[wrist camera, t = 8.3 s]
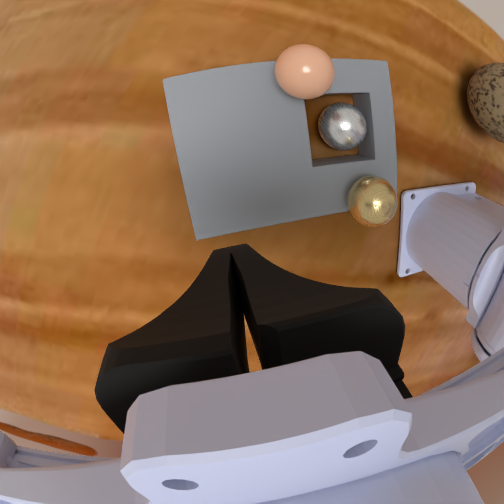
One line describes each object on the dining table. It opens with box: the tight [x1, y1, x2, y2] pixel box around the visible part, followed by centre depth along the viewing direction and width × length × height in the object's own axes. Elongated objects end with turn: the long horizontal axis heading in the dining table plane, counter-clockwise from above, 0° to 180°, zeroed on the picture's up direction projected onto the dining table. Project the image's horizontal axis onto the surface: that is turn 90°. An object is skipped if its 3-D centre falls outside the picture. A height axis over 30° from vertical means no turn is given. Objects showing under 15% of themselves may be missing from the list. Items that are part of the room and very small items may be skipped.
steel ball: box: [318, 103, 367, 150], centre depth 17 cm, size 3×3×3 cm
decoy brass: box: [347, 176, 397, 227], centre depth 17 cm, size 3×3×3 cm
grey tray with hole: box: [163, 59, 397, 240], centre depth 18 cm, size 14×10×2 cm
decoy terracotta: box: [274, 44, 335, 99], centre depth 14 cm, size 3×3×3 cm
